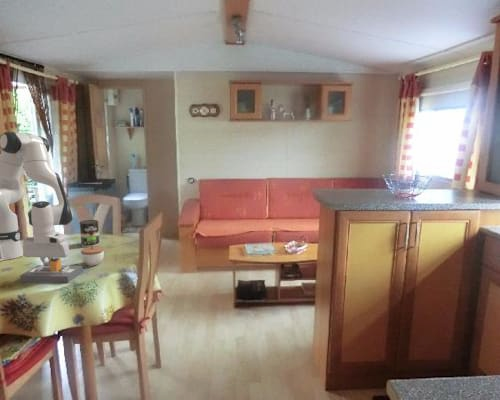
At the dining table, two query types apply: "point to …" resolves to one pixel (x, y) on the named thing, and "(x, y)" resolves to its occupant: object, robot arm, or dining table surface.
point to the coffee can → (89, 233)
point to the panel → (51, 274)
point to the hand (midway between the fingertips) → (47, 266)
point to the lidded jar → (92, 255)
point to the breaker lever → (55, 264)
